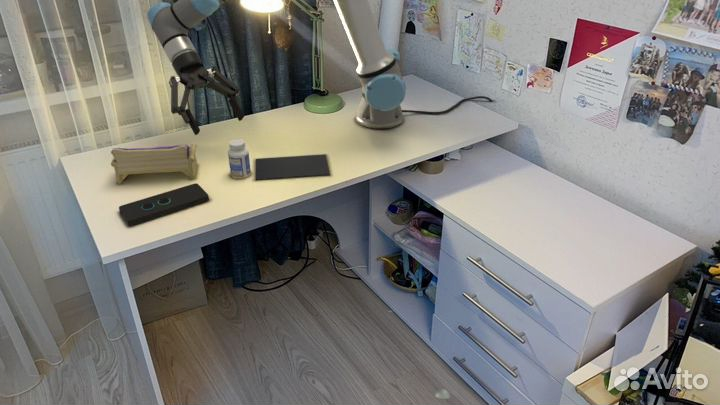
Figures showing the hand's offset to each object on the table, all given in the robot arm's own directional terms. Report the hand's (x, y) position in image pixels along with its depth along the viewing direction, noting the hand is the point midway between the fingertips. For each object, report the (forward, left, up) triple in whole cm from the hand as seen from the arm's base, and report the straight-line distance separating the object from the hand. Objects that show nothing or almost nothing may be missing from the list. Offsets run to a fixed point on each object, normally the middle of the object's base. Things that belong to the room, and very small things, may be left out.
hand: (220, 125), depth 152 cm
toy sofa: (+18, +3, -12) cm, 22 cm away
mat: (-18, +4, -12) cm, 22 cm away
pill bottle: (-4, +6, -12) cm, 14 cm away
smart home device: (+14, +20, -12) cm, 27 cm away
